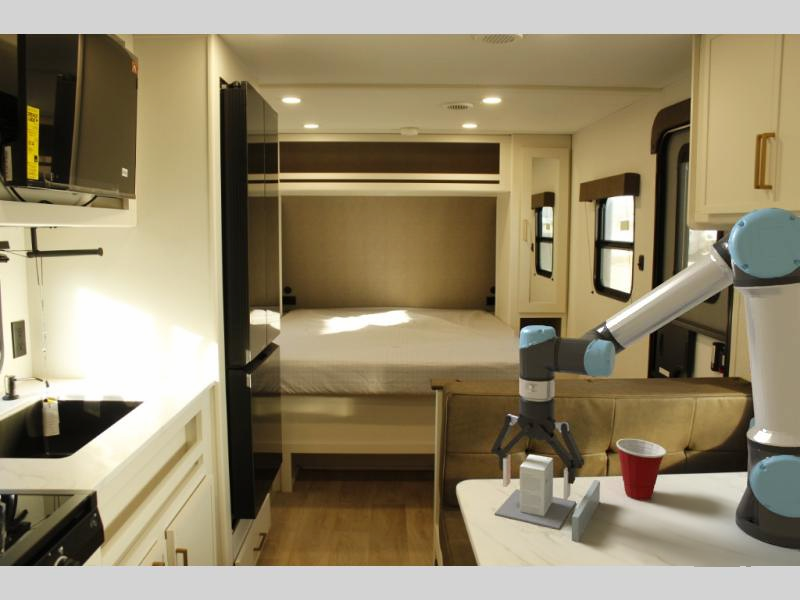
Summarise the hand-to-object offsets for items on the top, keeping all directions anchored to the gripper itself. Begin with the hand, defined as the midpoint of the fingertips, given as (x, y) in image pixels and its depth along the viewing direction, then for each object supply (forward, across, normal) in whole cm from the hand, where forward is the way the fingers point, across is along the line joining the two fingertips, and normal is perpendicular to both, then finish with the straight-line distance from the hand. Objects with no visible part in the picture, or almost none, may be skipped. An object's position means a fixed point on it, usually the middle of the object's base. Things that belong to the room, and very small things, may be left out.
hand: (536, 490), depth 132 cm
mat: (+4, 0, 0) cm, 4 cm away
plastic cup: (+4, +19, +18) cm, 27 cm away
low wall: (+4, +11, 0) cm, 12 cm away
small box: (+4, 0, 0) cm, 4 cm away
